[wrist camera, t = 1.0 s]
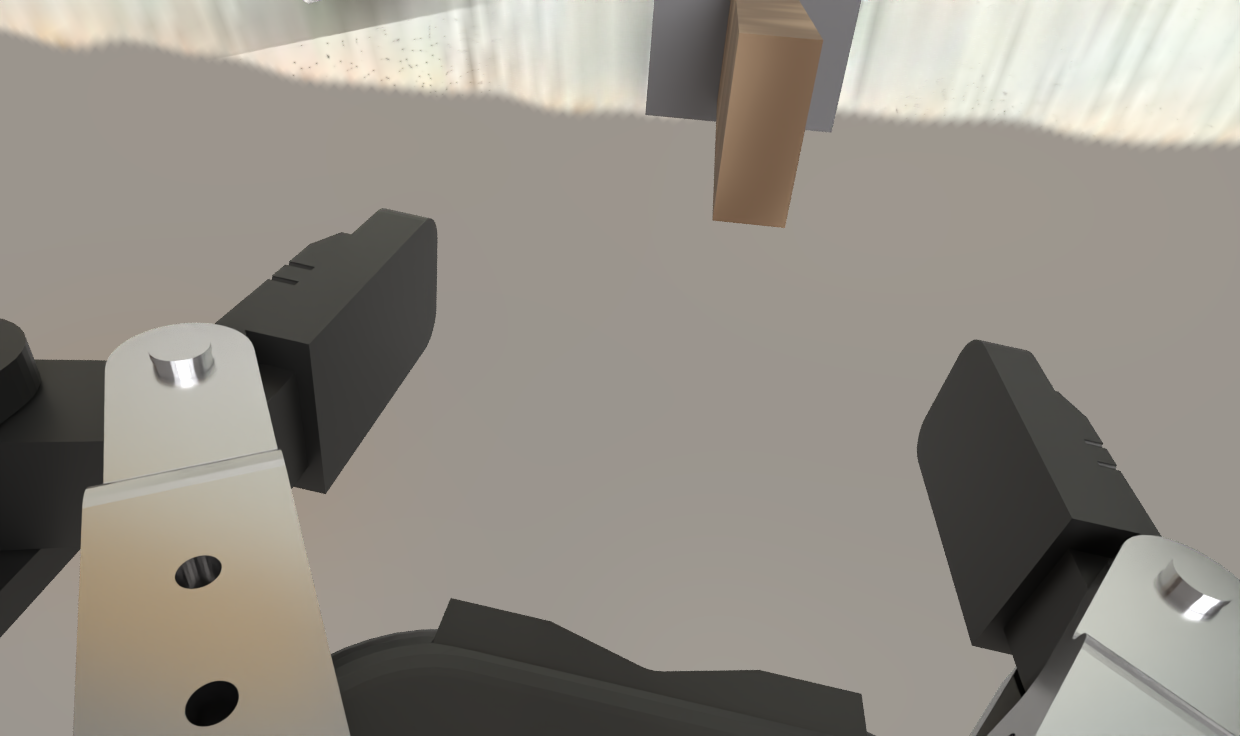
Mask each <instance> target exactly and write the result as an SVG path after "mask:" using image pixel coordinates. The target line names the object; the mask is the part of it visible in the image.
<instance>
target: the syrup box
mask: <svg viewBox="0 0 1240 736" xmlns="http://www.w3.org/2000/svg"><path fill="white" fill-rule="evenodd" d="M303 1H304V2H305V3H307V4H310V3H314V2H317V1H320V0H303Z"/></svg>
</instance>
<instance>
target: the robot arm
mask: <svg viewBox="0 0 1240 736" xmlns="http://www.w3.org/2000/svg"><path fill="white" fill-rule="evenodd" d="M436 286H437V228H436V224H435V222H434V220H432V219H430V218H426V217H421V216H417V215H412V214H407V213H403V212H398V211H394V210H389V209H384V208H382V209H380V210H378V211H377V212H376V213H375V214H374V215H373V216H371V217H370V218H369V219H368V220H367V221H366V222H365V223H364V224H363V225H361V226H360V227H359V228H358V229H357V230H356V231H355V232H354V233H353V234H347V233H342V232H341V233H338V234H336V235H333V236H330V237H328V238H325V239H322V240H320V241H317V242H315V243H312V244H310V245H308V246H307V247H306V248H305V249H304V250H302V251H301V252H300V253H299V254H298V255H296V256H295V257H294V258H293V259H292V260H290V261H289V265H284V266H283V267H282V268H281V269H280V270H279V271H277V272H276V273H275V274H274V275H273V277H272V280H269V279H268V280H266V281H265V282H264V283H263V284H262V285H261V286H259V287H258V288H257V289H256V290H255V291H253V292H252V293H251V294H250V295H248V296H247V297H246V298H245V299H244V300H242V301H241V302H240V303H239V304H238V305H236V306H235V307H234V308H233V309H232V310H230V311H229V312H228V313H227V314H226V315H224V316H223V317H222V318H221V319H220V320H218V321H217V322H216V323H215V324H208V323H183V324H174V325H168V326H163V327H159V328H155V329H152V330H149V331H146V332H143V333H141V334H139V335H137V336H134V337H132V338H131V339H129V340H127V341H125V342H124V343H122V344H121V345H120V346H119V347H117V348H116V349H115V350H114V351H113V353H112V354H111V355H110V356H109V358H108V360H107V361H98V360H95V361H94V360H34V357H33V355H32V352H31V350H30V347H29V345H28V342H27V340H26V337H25V335H24V332H23V331H22V330H21V329H20V327H18V326H16V325H15V324H14V323H12V322H9V321H7V320H4V319H0V637H1V636H2V635H3V634H4V633H5V632H6V631H7V630H8V628H9V627H10V626H11V625H12V624H13V623H14V622H15V621H16V620H17V618H18V617H19V616H20V615H21V614H22V613H23V612H24V611H25V610H26V609H27V607H28V606H29V605H30V604H31V603H32V602H33V601H34V600H35V599H36V598H37V596H38V595H39V594H40V593H41V592H42V590H44V589H45V587H46V586H47V585H48V584H49V583H50V582H51V581H52V580H53V579H54V578H55V576H56V575H57V574H58V573H59V572H60V571H61V570H62V569H63V568H64V567H65V565H66V564H67V563H68V562H69V561H70V560H71V559H72V558H73V557H74V555H75V554H76V553H77V552H78V551H79V550H80V549H81V551H80V577H79V600H78V602H79V603H78V627H77V650H76V674H75V698H74V722H73V736H875V735H873V734H871V733H868V732H867V731H866V724H865V716H864V709H863V703H862V695H861V694H859V693H855V692H851V691H847V690H842V689H838V688H834V687H829V686H825V685H821V684H816V683H812V682H808V681H804V680H799V679H795V678H791V677H787V676H782V675H778V674H774V673H770V672H765V671H761V670H739V671H738V670H737V671H735V670H734V671H671V672H670V671H667V672H662V671H653V670H649V669H646V668H643V667H641V666H639V665H637V664H635V663H633V662H631V661H629V660H627V659H625V658H623V657H621V656H619V655H617V654H615V653H613V652H611V651H609V650H607V649H605V648H603V647H601V646H599V645H597V644H595V643H593V642H591V641H589V640H587V639H585V638H583V637H581V636H579V635H577V634H575V633H573V632H571V631H569V630H567V629H565V628H563V627H561V626H559V625H557V624H555V623H553V622H551V621H546V620H542V619H538V618H534V617H529V616H525V615H521V614H517V613H512V612H508V611H504V610H499V609H495V608H491V607H487V606H482V605H478V604H474V603H469V602H465V601H461V600H457V599H452V598H451V599H450V601H449V604H448V607H447V609H446V611H445V613H444V616H443V618H442V621H441V623H440V626H439V628H438V629H435V630H434V629H430V630H415V631H408V632H400V633H393V634H389V635H385V636H381V637H377V638H373V639H369V640H366V641H363V642H360V643H357V644H354V645H352V646H349V647H346V648H344V649H341V650H339V651H337V652H335V653H333V654H331V653H330V649H329V645H328V641H327V637H326V632H325V628H324V624H323V620H322V616H321V612H320V608H319V604H318V599H317V595H316V591H315V587H314V582H313V578H312V574H311V570H310V566H309V562H308V557H307V554H306V549H305V545H304V541H303V537H302V532H301V528H300V524H299V520H298V516H297V512H296V508H295V503H294V499H293V495H292V491H291V489H292V488H293V487H297V488H302V489H306V490H310V491H315V492H319V493H324V494H326V493H327V491H328V490H329V488H330V487H331V485H332V484H333V482H334V481H335V480H336V478H337V477H338V475H339V474H340V472H341V471H342V469H343V468H344V466H345V465H346V464H347V462H348V461H349V459H350V458H351V456H352V455H353V453H354V452H355V450H356V449H357V447H358V446H359V445H360V443H361V442H362V440H363V439H364V437H365V436H366V434H367V433H368V432H369V430H370V429H371V427H372V426H373V424H374V423H375V421H376V420H377V418H378V417H379V415H380V414H381V413H382V411H383V410H384V408H385V407H386V405H387V404H388V402H389V401H390V399H391V398H392V397H393V395H394V394H395V392H396V391H397V389H398V388H399V386H400V385H401V383H402V382H403V381H404V379H405V378H406V376H407V374H408V373H409V372H410V370H411V369H412V367H413V366H414V365H415V363H416V362H417V360H418V359H419V357H420V356H421V354H422V353H423V351H424V350H425V348H426V347H427V345H428V343H429V340H430V337H431V334H432V331H433V327H434V323H435V317H436V291H437V287H436ZM1102 444H1103V443H1102V441H1101V440H1100V438H1099V436H1098V435H1097V433H1096V432H1095V430H1094V428H1093V427H1092V425H1091V424H1090V422H1089V420H1088V419H1087V417H1086V416H1084V415H1083V414H1082V413H1081V412H1080V411H1079V410H1078V409H1077V408H1075V406H1073V405H1072V404H1071V403H1070V402H1069V401H1068V400H1067V399H1065V398H1064V397H1063V396H1062V395H1061V394H1060V393H1059V392H1057V391H1055V390H1054V389H1053V387H1052V385H1051V384H1050V382H1049V380H1048V379H1047V377H1046V375H1045V374H1044V372H1043V370H1042V369H1041V367H1040V365H1039V364H1038V362H1037V360H1036V359H1035V357H1034V356H1033V354H1032V353H1031V352H1029V351H1027V350H1022V349H1018V348H1013V347H1009V346H1004V345H999V344H995V343H990V342H986V341H981V340H973V341H971V342H970V343H968V344H967V345H966V346H965V347H964V349H963V350H962V352H961V353H960V355H959V356H958V358H957V360H956V362H955V364H954V366H953V368H952V369H951V371H950V373H949V375H948V377H947V379H946V380H945V383H944V384H943V386H942V388H941V390H940V392H939V393H938V396H937V397H936V399H935V401H934V403H933V404H932V406H931V408H930V410H929V412H928V414H927V415H926V417H925V419H924V421H923V424H922V427H921V429H920V433H919V438H918V444H917V457H918V462H919V465H920V469H921V473H922V476H923V479H924V483H925V486H926V489H927V493H928V496H929V500H930V503H931V507H932V510H933V513H934V517H935V520H936V524H937V527H938V531H939V534H940V537H941V541H942V544H943V548H944V551H945V555H946V558H947V561H948V565H949V568H950V572H951V575H952V578H953V582H954V585H955V588H956V592H957V595H958V599H959V602H960V606H961V609H962V612H963V616H964V620H965V623H966V626H967V630H968V633H969V637H970V640H971V643H972V646H976V647H980V648H985V649H989V650H994V651H998V652H1002V653H1007V654H1011V655H1013V658H1014V661H1015V664H1016V667H1015V668H1014V670H1013V671H1012V672H1011V673H1010V674H1009V675H1008V676H1007V677H1006V679H1005V680H1004V681H1003V682H1002V684H1001V685H1000V687H999V688H998V690H997V692H996V693H995V695H994V697H993V698H992V700H991V701H990V703H989V705H988V706H987V708H986V710H985V711H984V713H983V715H982V716H981V718H980V719H979V721H978V722H977V724H976V726H975V727H974V729H973V731H972V732H971V734H970V736H1240V580H1239V579H1238V578H1237V577H1235V576H1234V575H1233V574H1232V573H1231V572H1230V571H1228V570H1227V569H1225V568H1224V567H1223V566H1221V565H1220V564H1219V563H1217V562H1216V561H1214V560H1212V559H1211V558H1209V557H1208V556H1206V555H1204V554H1203V553H1200V552H1198V551H1197V550H1195V549H1193V548H1191V547H1189V546H1187V545H1184V544H1182V543H1179V542H1177V541H1174V540H1171V539H1167V538H1163V537H1162V536H1161V535H1160V533H1159V532H1158V530H1157V529H1156V527H1155V525H1154V524H1153V522H1152V521H1151V519H1150V518H1149V516H1148V514H1147V513H1146V511H1145V509H1144V508H1143V506H1142V505H1141V503H1140V501H1139V500H1138V498H1137V497H1136V495H1135V494H1134V492H1133V490H1132V489H1131V487H1130V486H1129V484H1128V483H1127V481H1126V479H1125V478H1124V476H1123V475H1122V473H1121V471H1118V470H1116V463H1115V462H1114V460H1113V459H1112V457H1111V455H1110V454H1109V452H1108V451H1107V449H1105V448H1102Z"/></svg>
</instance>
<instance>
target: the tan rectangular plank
mask: <svg viewBox="0 0 1240 736" xmlns="http://www.w3.org/2000/svg"><path fill="white" fill-rule="evenodd" d="M822 44H823V39H822V37H821V35H820V34H819V32H818V30H817V29H816V27H815V26H814V24H813V22H812V21H811V19H810V17H809V16H808V14H807V12H806V11H805V9H804V7H803V6H802V4H801V3H800V1H799V0H730V8H729V15H728V23H727V30H726V38H725V45H724V53H723V61H722V68H721V76H720V83H719V91H718V98H717V115H716V142H715V168H714V195H713V220H715V221H724V222H733V223H743V224H753V225H762V226H773V227H781V228H785V224H786V219H787V214H788V210H789V205H790V200H791V195H792V190H793V185H794V180H795V176H796V171H797V165H798V161H799V156H800V151H801V146H802V142H803V136H804V132H805V127H806V122H807V117H808V112H809V108H810V103H811V98H812V93H813V88H814V83H815V78H816V74H817V69H818V64H819V59H820V54H821V49H822Z"/></svg>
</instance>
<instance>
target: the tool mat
mask: <svg viewBox="0 0 1240 736" xmlns="http://www.w3.org/2000/svg"><path fill="white" fill-rule="evenodd" d="M799 1H800V3H801V4H802V6H803V7H804V9H805V11H806V12H807V14H808V16H809V17H810V19H811V21H812V22H813V24H814V26H815V27H816V29H817V30H818V32H819V34H820V35H821V37H822V39H823V44H822V49H821V54H820V59H819V64H818V69H817V74H816V78H815V83H814V88H813V93H812V98H811V103H810V108H809V112H808V117H807V122H806V127H805V130H811V131H822V132H831V131H832V127H833V123H834V118H835V114H836V110H837V105H838V101H839V96H840V92H841V88H842V83H843V79H844V74H845V70H846V66H847V61H848V57H849V52H850V48H851V44H852V39H853V35H854V30H855V26H856V22H857V17H858V13H859V8H860V4H861V0H799ZM729 8H730V0H654V12H653V25H652V38H651V51H650V63H649V76H648V89H647V102H646V115H653V116H663V117H674V118H684V119H695V120H705V121H716V115H717V98H718V91H719V83H720V76H721V68H722V61H723V53H724V45H725V38H726V30H727V23H728V15H729Z"/></svg>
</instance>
